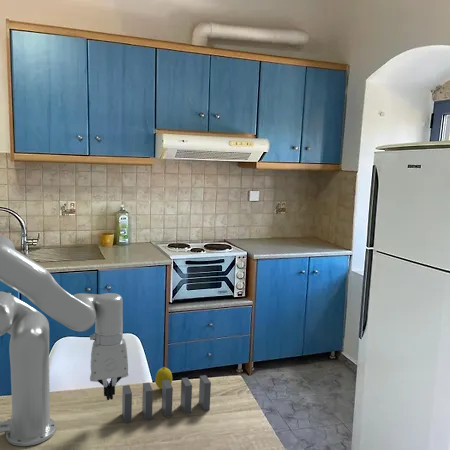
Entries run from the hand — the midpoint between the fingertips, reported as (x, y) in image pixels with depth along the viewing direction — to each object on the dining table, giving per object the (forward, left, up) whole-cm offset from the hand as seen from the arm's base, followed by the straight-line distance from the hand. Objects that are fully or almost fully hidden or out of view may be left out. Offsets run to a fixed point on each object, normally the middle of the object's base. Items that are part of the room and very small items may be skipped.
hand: (109, 397), depth 132 cm
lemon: (+19, +13, -8) cm, 24 cm away
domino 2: (+11, 0, -7) cm, 13 cm away
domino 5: (+29, 0, -7) cm, 30 cm away
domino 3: (+17, 0, -7) cm, 19 cm away
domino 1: (+5, 0, -7) cm, 9 cm away
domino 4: (+23, 0, -7) cm, 24 cm away
